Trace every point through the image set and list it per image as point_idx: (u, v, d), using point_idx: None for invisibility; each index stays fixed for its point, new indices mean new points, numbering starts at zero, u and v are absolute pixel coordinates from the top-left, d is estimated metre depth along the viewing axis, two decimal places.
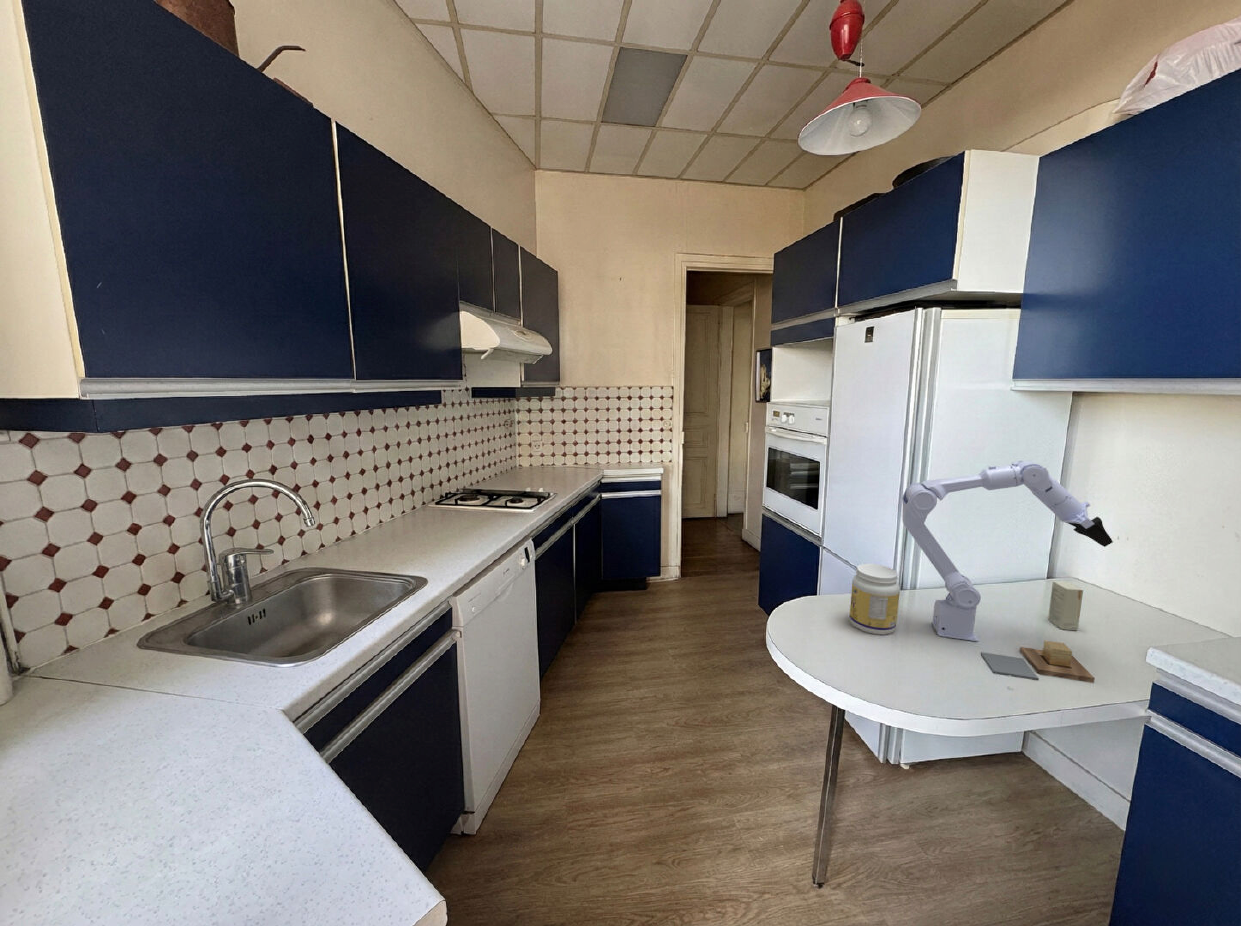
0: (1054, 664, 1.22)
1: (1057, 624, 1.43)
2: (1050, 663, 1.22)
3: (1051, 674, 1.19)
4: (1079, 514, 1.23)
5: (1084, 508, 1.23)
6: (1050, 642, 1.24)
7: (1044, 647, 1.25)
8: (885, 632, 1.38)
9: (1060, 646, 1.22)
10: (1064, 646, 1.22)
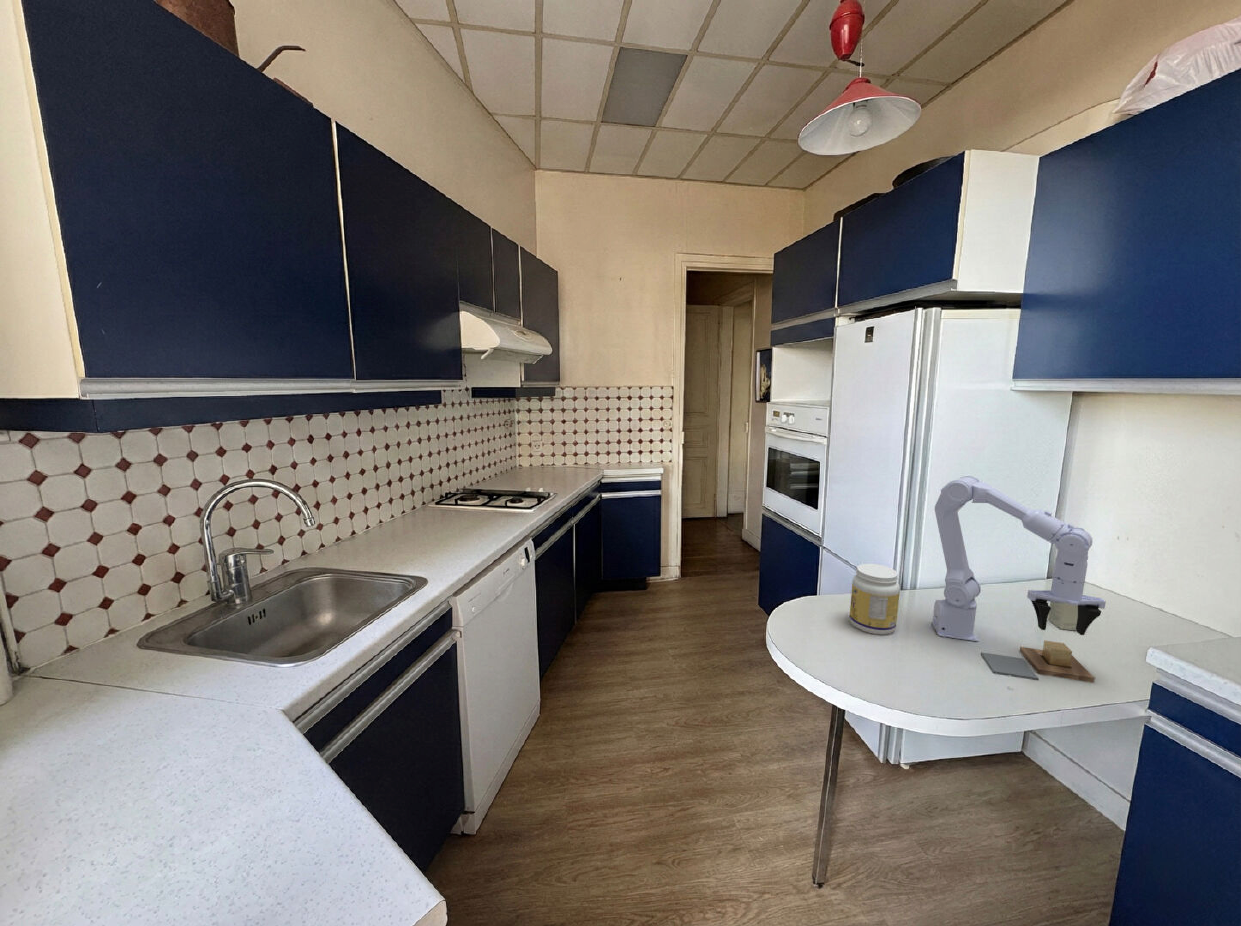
0: (1054, 664, 1.22)
1: (1057, 624, 1.43)
2: (1050, 663, 1.22)
3: (1051, 674, 1.19)
4: (1052, 595, 1.21)
5: (1060, 598, 1.19)
6: (1050, 642, 1.24)
7: (1044, 647, 1.25)
8: (885, 632, 1.38)
9: (1060, 646, 1.22)
10: (1064, 646, 1.22)
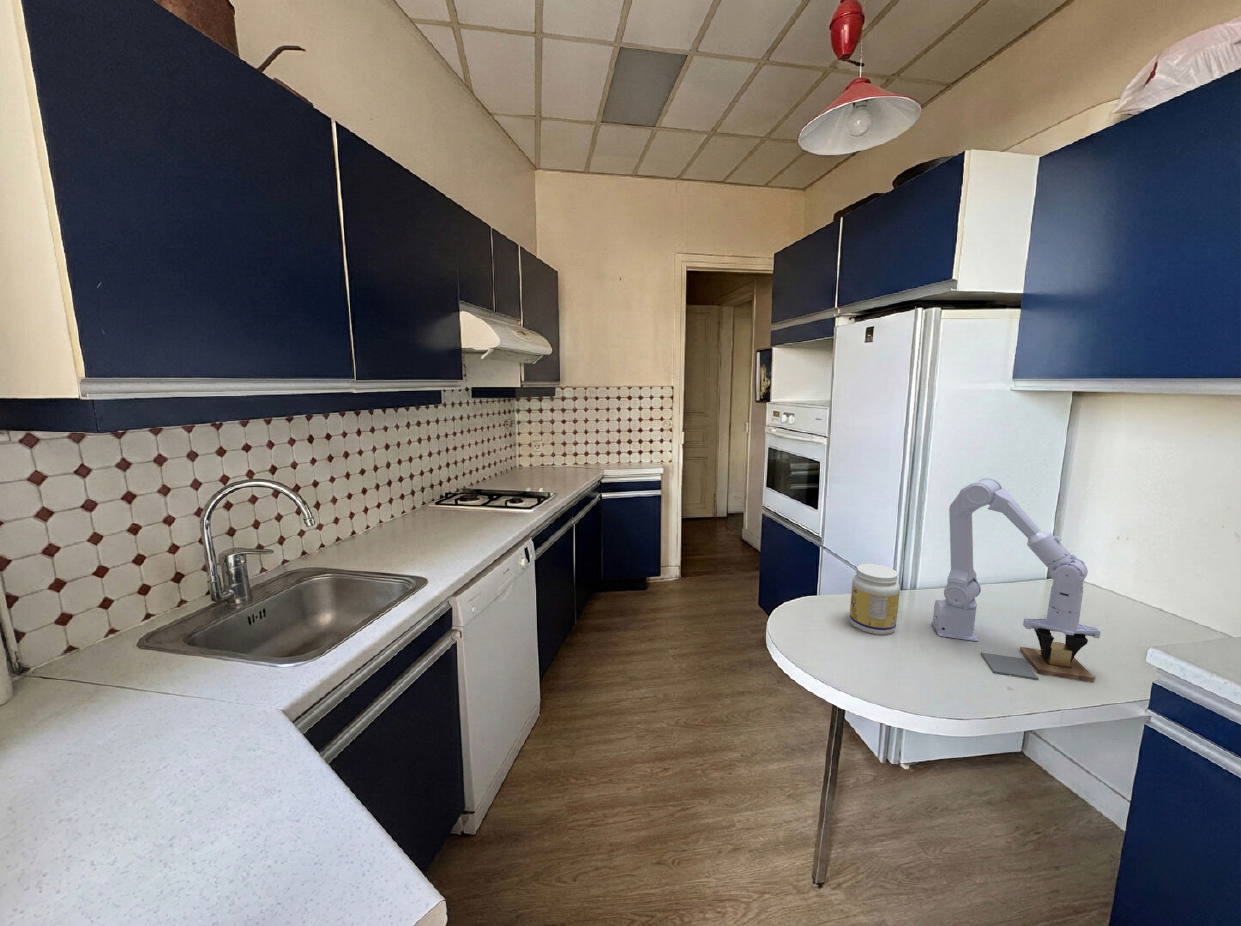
0: (1054, 664, 1.22)
1: None
2: (1050, 663, 1.22)
3: (1051, 674, 1.19)
4: (1047, 624, 1.22)
5: (1056, 627, 1.20)
6: None
7: None
8: (885, 632, 1.38)
9: (1060, 646, 1.22)
10: (1064, 646, 1.22)
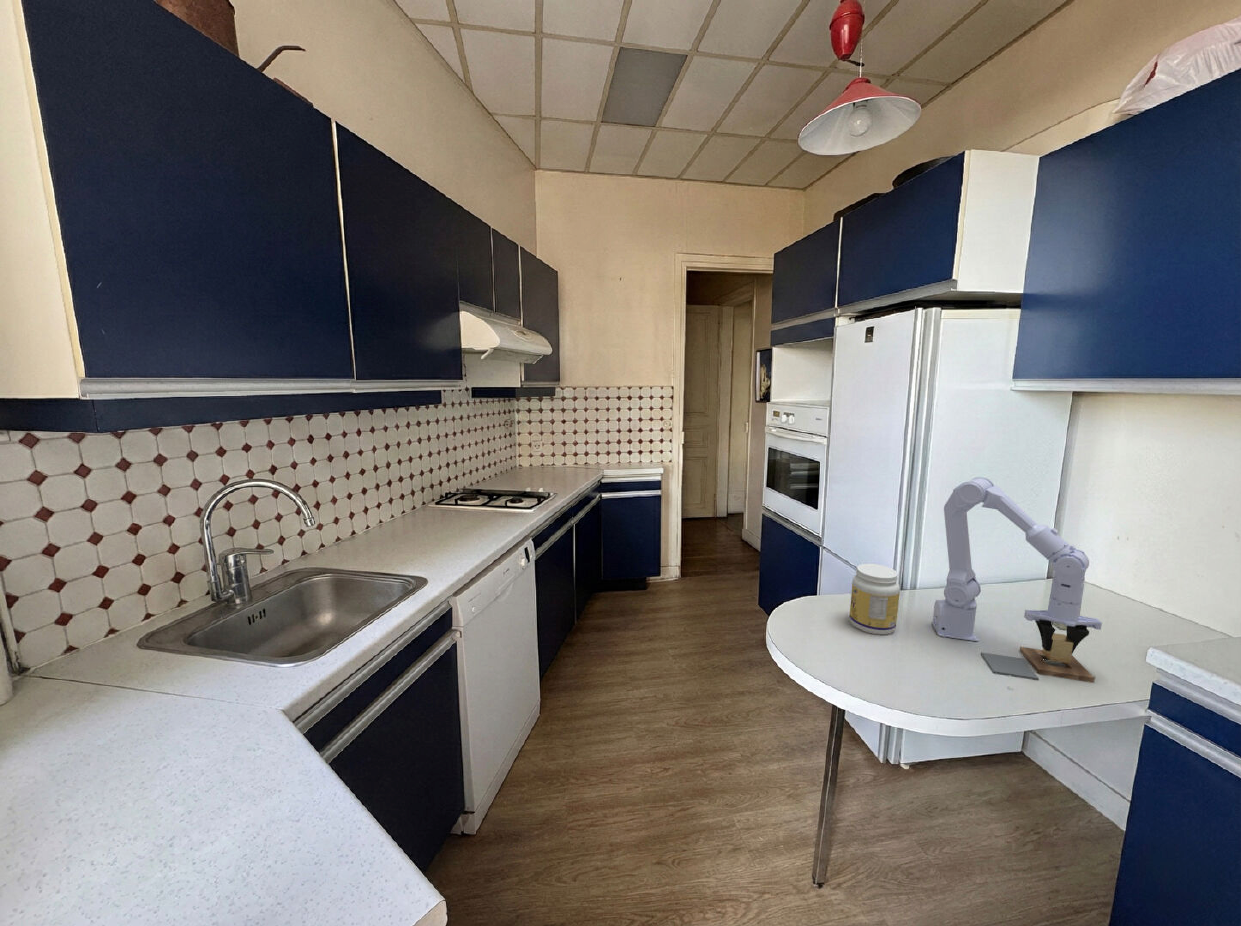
0: (1055, 655, 1.21)
1: (1057, 624, 1.43)
2: (1051, 654, 1.22)
3: (1051, 674, 1.19)
4: (1048, 615, 1.22)
5: (1057, 619, 1.20)
6: None
7: None
8: (885, 632, 1.38)
9: (1061, 637, 1.22)
10: (1065, 637, 1.22)
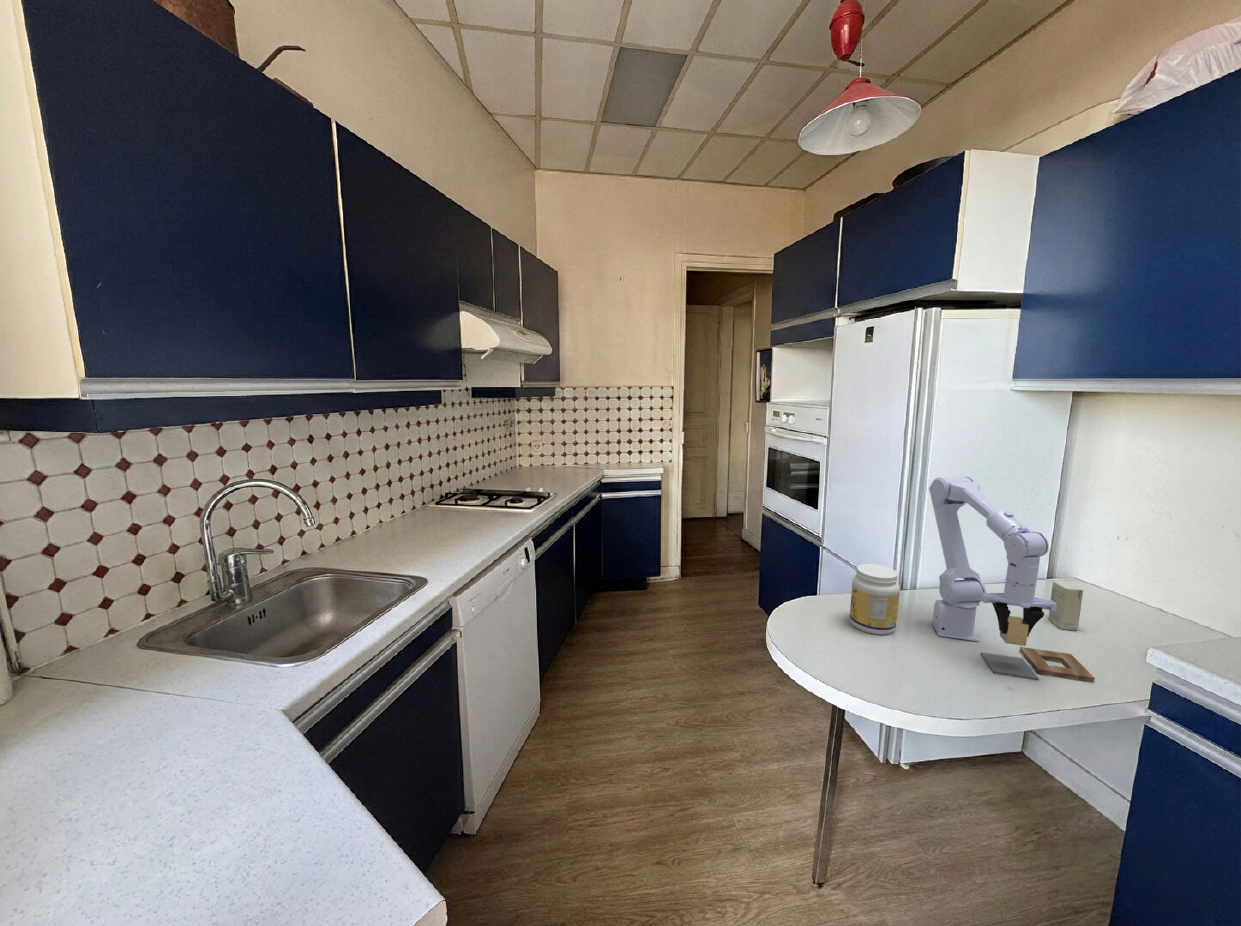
0: (1011, 638, 1.20)
1: (1057, 624, 1.43)
2: (1007, 637, 1.21)
3: (1051, 674, 1.19)
4: (1004, 598, 1.21)
5: (1012, 601, 1.19)
6: None
7: None
8: (885, 632, 1.38)
9: (1017, 620, 1.21)
10: (1021, 620, 1.21)
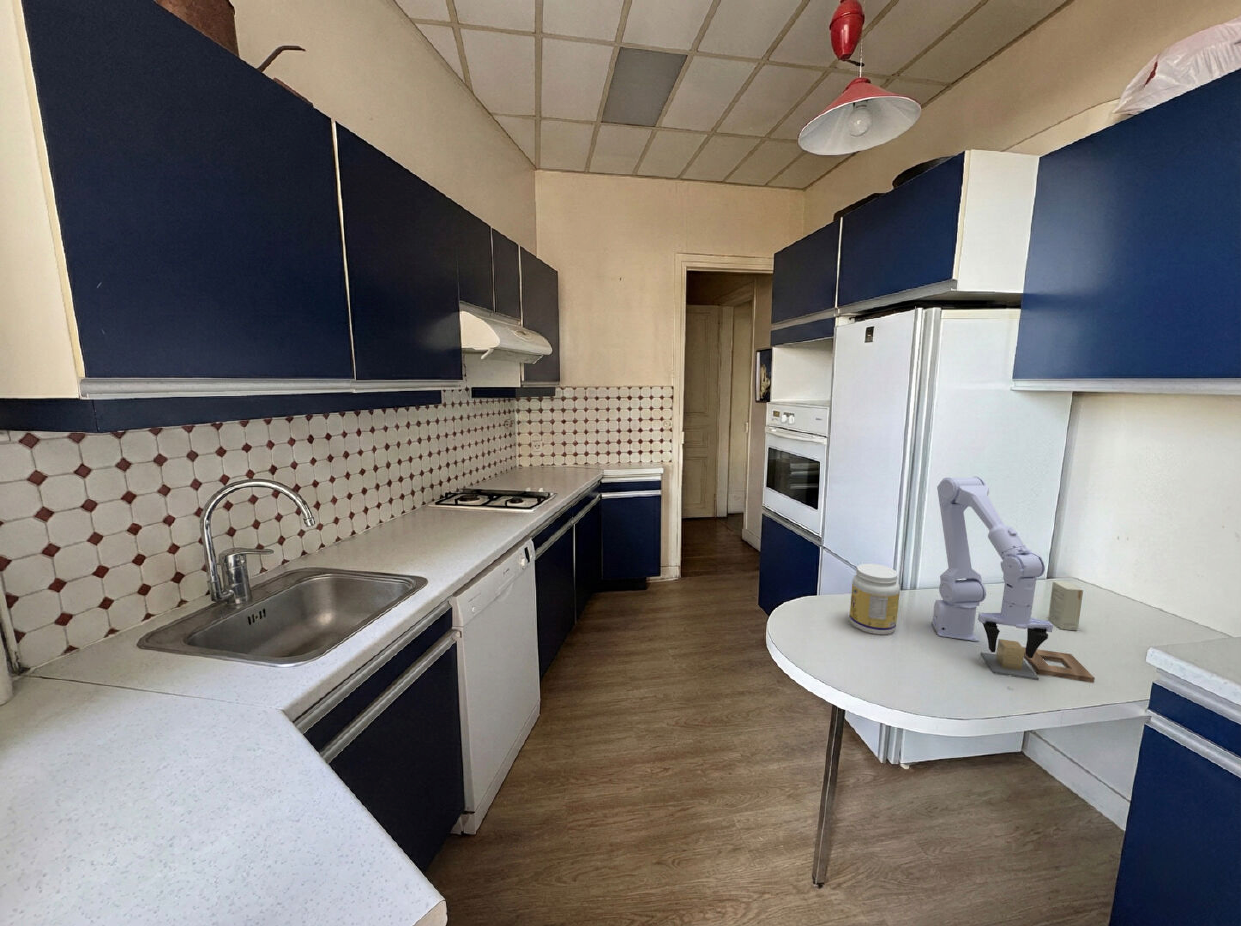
0: (1007, 663, 1.22)
1: (1057, 624, 1.43)
2: (1003, 662, 1.22)
3: (1051, 674, 1.19)
4: (1001, 618, 1.22)
5: (1009, 621, 1.20)
6: (1004, 640, 1.24)
7: (998, 645, 1.25)
8: (885, 632, 1.38)
9: (1013, 645, 1.22)
10: (1017, 644, 1.22)
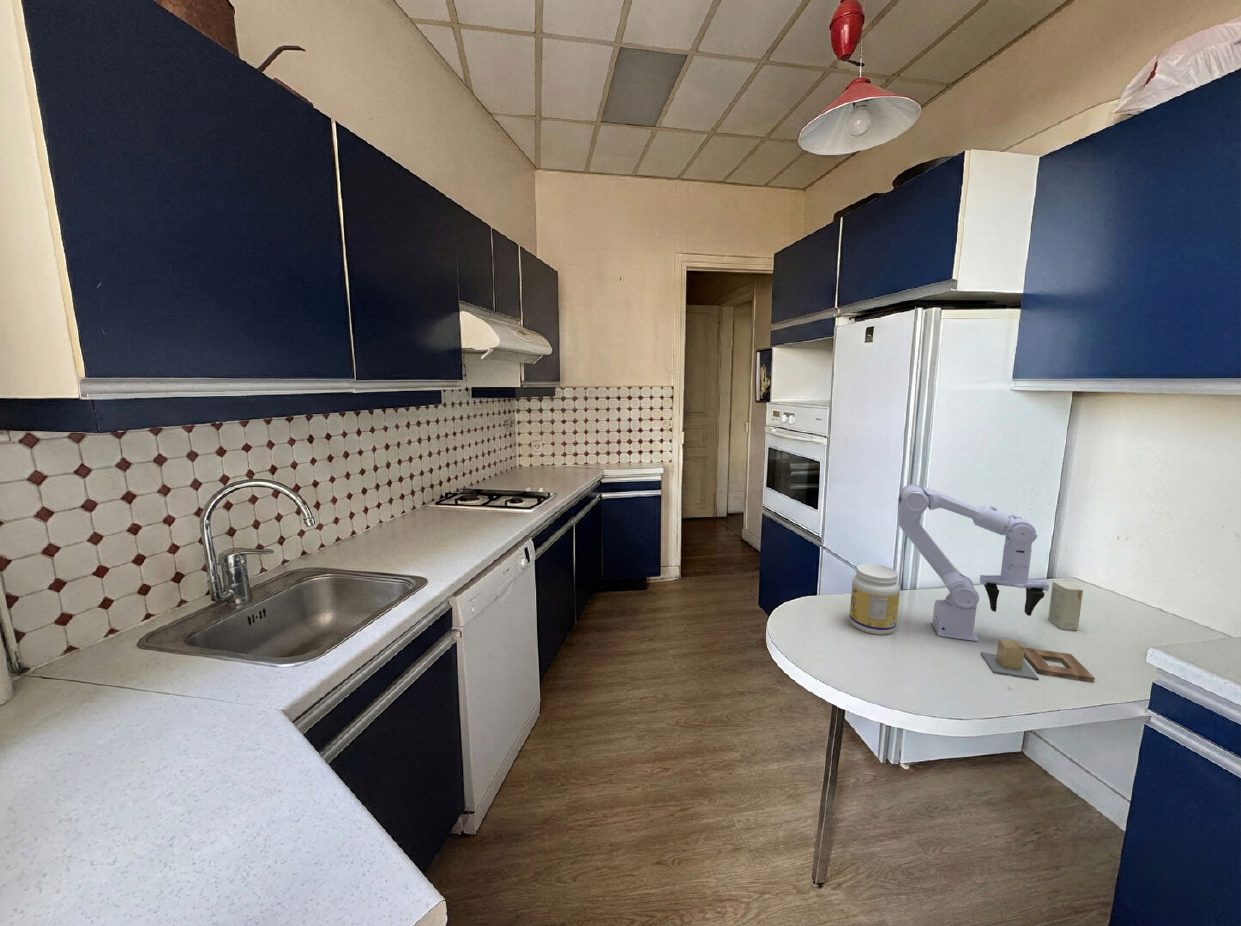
0: (1007, 663, 1.22)
1: (1057, 624, 1.43)
2: (1003, 662, 1.22)
3: (1051, 674, 1.19)
4: (1001, 579, 1.32)
5: (1008, 582, 1.30)
6: (1004, 640, 1.24)
7: (998, 645, 1.25)
8: (885, 632, 1.38)
9: (1013, 645, 1.22)
10: (1017, 644, 1.22)
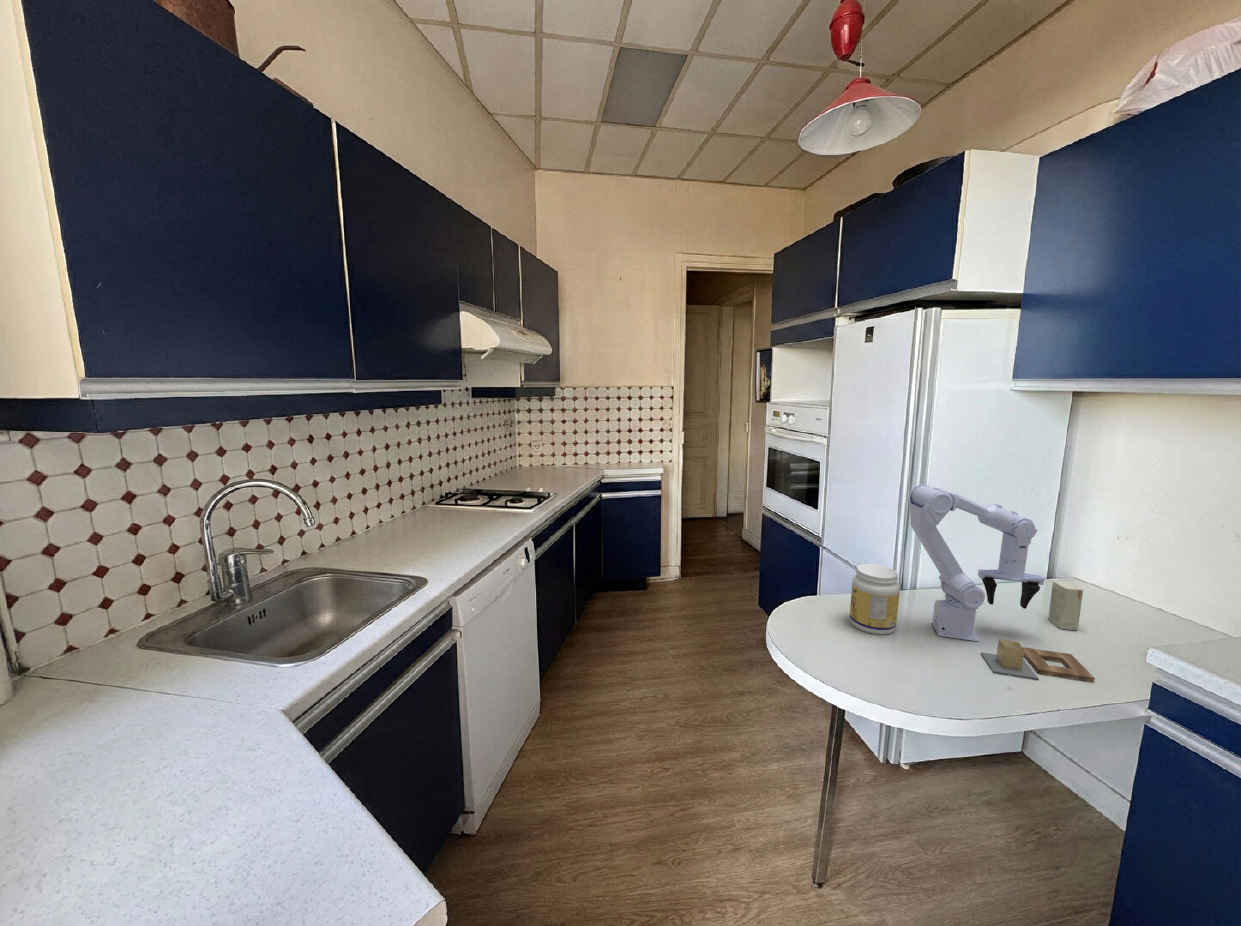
0: (1007, 663, 1.22)
1: (1057, 624, 1.43)
2: (1003, 662, 1.22)
3: (1051, 674, 1.19)
4: (998, 573, 1.37)
5: (1005, 576, 1.35)
6: (1004, 640, 1.24)
7: (998, 645, 1.25)
8: (885, 632, 1.38)
9: (1013, 645, 1.22)
10: (1017, 644, 1.22)
